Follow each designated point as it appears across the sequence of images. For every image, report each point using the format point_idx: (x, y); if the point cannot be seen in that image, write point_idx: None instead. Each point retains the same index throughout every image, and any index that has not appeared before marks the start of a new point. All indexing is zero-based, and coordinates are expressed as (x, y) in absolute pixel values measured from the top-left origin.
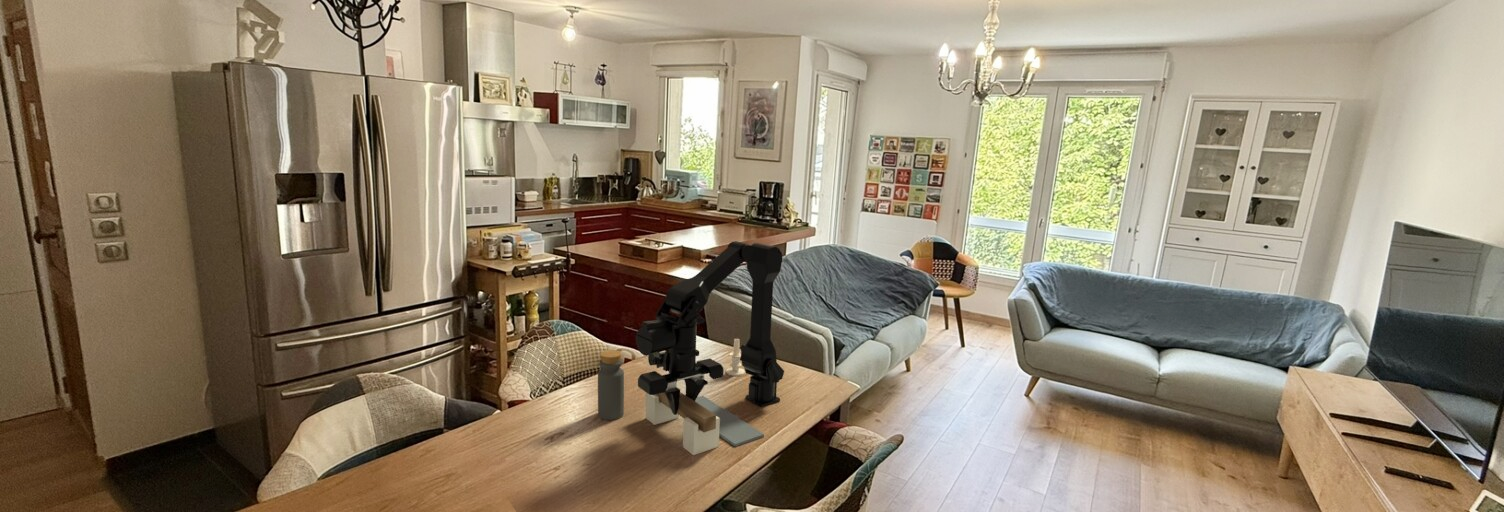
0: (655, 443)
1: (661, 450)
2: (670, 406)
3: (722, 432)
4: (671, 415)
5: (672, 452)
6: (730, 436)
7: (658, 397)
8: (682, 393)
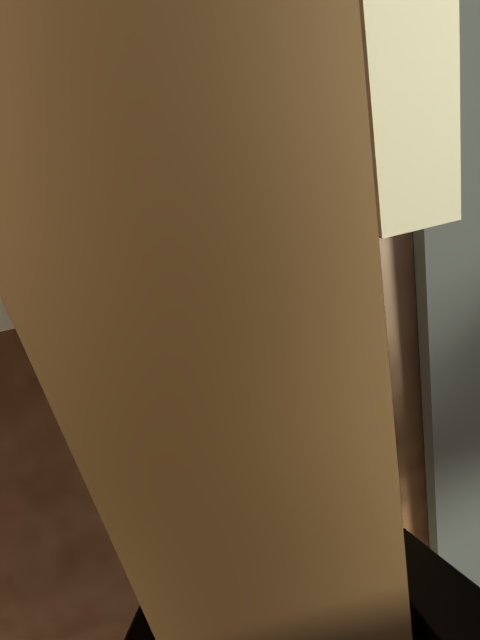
0: (25, 498)
1: (50, 572)
2: (139, 619)
3: (457, 513)
4: None
5: (110, 598)
6: (467, 556)
7: (10, 328)
8: (404, 600)
